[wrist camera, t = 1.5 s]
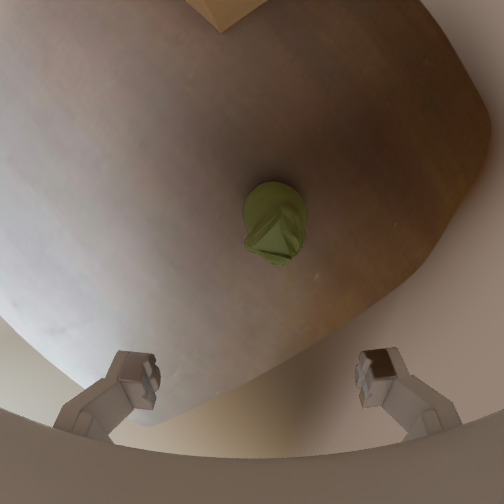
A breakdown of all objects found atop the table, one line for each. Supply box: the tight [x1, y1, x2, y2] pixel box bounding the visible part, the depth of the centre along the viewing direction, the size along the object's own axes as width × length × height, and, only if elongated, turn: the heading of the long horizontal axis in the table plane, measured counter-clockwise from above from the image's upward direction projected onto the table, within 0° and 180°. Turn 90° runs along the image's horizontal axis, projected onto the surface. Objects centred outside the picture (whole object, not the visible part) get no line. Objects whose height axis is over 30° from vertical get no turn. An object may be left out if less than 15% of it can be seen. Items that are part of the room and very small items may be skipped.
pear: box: [243, 181, 308, 265], centre depth 26 cm, size 6×5×10 cm
